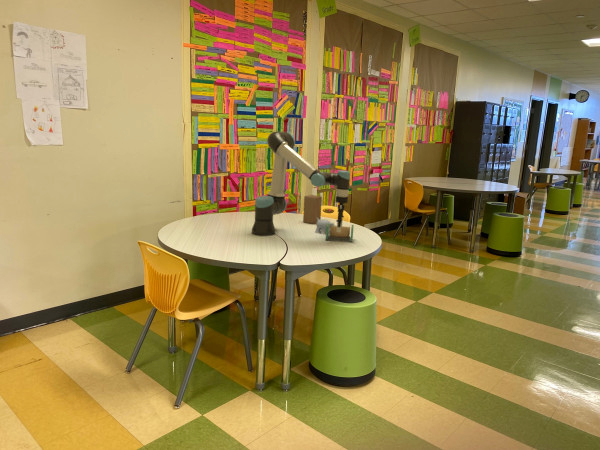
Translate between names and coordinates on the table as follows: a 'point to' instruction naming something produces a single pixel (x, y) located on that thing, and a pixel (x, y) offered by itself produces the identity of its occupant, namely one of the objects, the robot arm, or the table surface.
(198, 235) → the table surface
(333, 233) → the cylinder
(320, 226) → the hippopotamus toy
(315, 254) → the table surface
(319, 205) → the wooden block
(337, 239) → the holder
